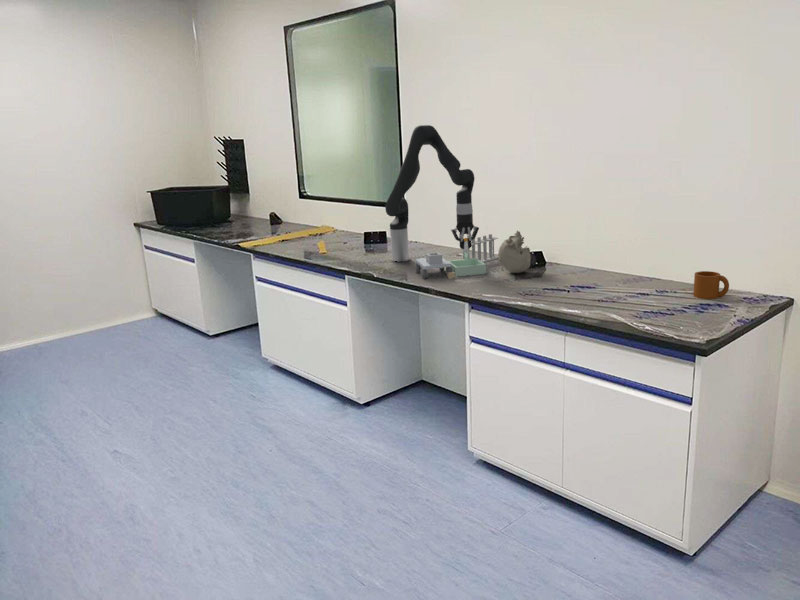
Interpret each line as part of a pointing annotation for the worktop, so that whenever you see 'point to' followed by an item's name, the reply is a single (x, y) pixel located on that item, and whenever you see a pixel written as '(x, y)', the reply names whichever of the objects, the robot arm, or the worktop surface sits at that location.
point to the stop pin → (465, 249)
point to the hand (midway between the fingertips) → (465, 248)
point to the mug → (709, 285)
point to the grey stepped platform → (433, 264)
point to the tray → (468, 267)
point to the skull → (514, 254)
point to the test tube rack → (484, 248)
